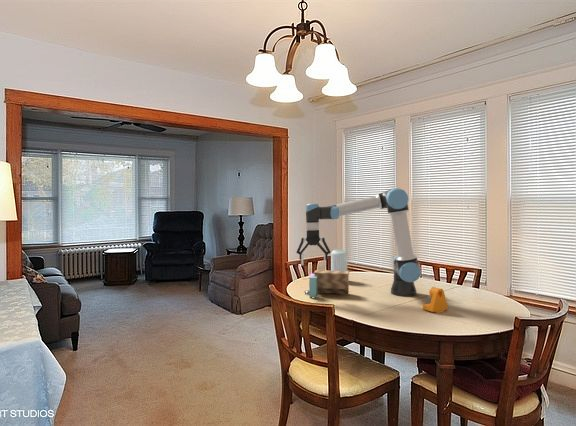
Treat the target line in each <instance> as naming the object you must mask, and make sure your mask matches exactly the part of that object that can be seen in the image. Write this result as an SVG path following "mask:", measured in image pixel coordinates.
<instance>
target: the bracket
mask: <svg viewBox="0 0 576 426" xmlns="http://www.w3.org/2000/svg"><path fill="white" fill-rule="evenodd" d="M429 296H430V297H431V299H430V303H425V304H422V310H426V311H429V312H431V313H436V314H438V313H442V312H445V310H448V303H447V297H446V295H445V290H444V289H443V288H439V287H435V286H432V287H431V288H430V289H429Z"/></svg>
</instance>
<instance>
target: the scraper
mask: <svg viewBox="0 0 576 426" xmlns="http://www.w3.org/2000/svg"><path fill="white" fill-rule="evenodd" d="M308 278H309V280H308V286H309V295H308V296H309V297H317V298H318V293H317V277H314V276H310V275H309V277H308ZM309 297H308V298H309Z"/></svg>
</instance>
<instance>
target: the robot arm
mask: <svg viewBox="0 0 576 426" xmlns="http://www.w3.org/2000/svg"><path fill="white" fill-rule="evenodd" d="M408 202H409V195H408V193H407V192H406V190H404V189H403V188H399V187H397V188H396V187H394V188H391V189H388V190H386V191H383V192H380V193H377V194H376V195H374V196H369V197H365V198H361V199H356V200H351V201H347V202H346V201H345V202H342V203H337V204H333V205H328V206H319V204H318V203H307V204H306V205H305V221H306V223H305V224H306V225H305V226H306V238H305V237H301V240H300V244H299V246H298V248H297V249H296V252H295V253H296V254H299V260H300V261H301V264H300V265H301V266H304V265H305V264H304V251H305V250H306V249H307V248H308V247H309V246H317V247H319V249H320V250H321V251H322V252H323V253H324V255H323V266H324V267H325V266H326V265H327V260H328V259H329V257H328V255H330V254H331V252H332V250H330V247H329V246H328V244H327V241H326V239H325V237H320V230H319V229H320V220H338V219H340V217H342V216H347V215H352V214H356V213H361V212H365V211H370V210H371V211H372V210H375V209H380V210H382V209H387V210H386V211H387V214H388V215H390V217H391V223H392V229H393V234H394V240H395V245H396V252H397V255H395V256H394V257H393V282H392V285H391V286H390V293H391V294H392V295H395V296H400V297H412V296H413V297H414V296H416V295H417V288H416V285H415V282H417V280H418V279H420V277H421V274H422V271H421V270H422V269H421V267H420V265H419V263H418V262H419V261H418V256H416V254H414V250H413V244H412V237H411V231H410V226H409V221H408V220H409V219H408V215H407V213H408V211H410V209H409V203H408ZM305 242H307V243H306V244H305V246H303V244H304V243H305ZM320 242H322V243H323V246H322V244H321V243H320ZM302 247H303V248H302Z"/></svg>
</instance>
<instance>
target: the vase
mask: <svg viewBox="0 0 576 426" xmlns="http://www.w3.org/2000/svg"><path fill="white" fill-rule="evenodd" d="M330 271H348V252H347V251H346V250H344V249H333V250H331V252H330Z"/></svg>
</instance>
